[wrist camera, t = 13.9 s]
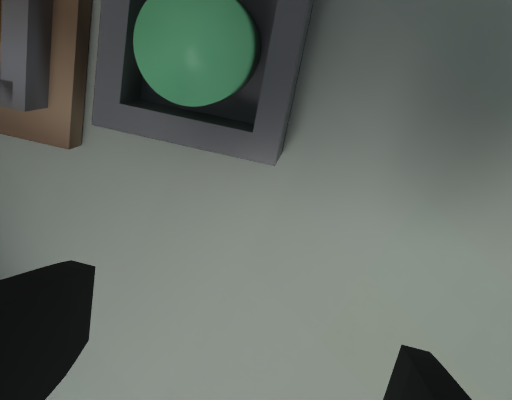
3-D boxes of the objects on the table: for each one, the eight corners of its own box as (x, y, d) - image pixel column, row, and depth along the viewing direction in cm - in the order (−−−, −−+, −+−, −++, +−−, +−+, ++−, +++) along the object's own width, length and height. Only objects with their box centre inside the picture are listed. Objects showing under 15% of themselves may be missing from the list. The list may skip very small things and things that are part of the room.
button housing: (281, 154, 19) (274, 165, 17) (117, 117, 20) (91, 124, 18) (321, -35, 17) (319, -49, 15) (135, -69, 17) (108, -86, 15)
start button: (249, 110, 18) (238, 117, 16) (150, 89, 18) (127, 93, 16) (269, 0, 17) (260, -9, 15) (163, -20, 17) (140, -31, 15)
